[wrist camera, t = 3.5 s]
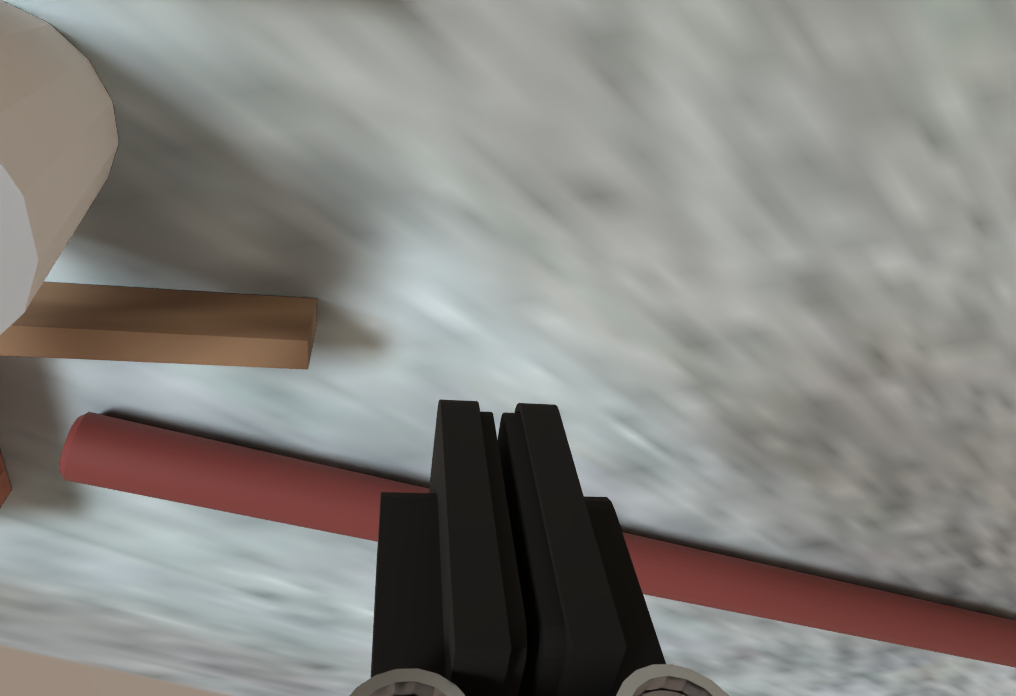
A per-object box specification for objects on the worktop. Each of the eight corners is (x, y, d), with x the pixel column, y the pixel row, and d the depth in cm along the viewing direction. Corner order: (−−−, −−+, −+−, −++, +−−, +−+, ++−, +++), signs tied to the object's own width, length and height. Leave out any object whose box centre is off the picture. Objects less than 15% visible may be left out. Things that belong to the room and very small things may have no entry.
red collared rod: (82, 447, 26) (45, 513, 23) (93, 378, 24) (55, 440, 22) (991, 639, 39) (1033, 694, 37) (1034, 602, 38) (1080, 657, 35)
